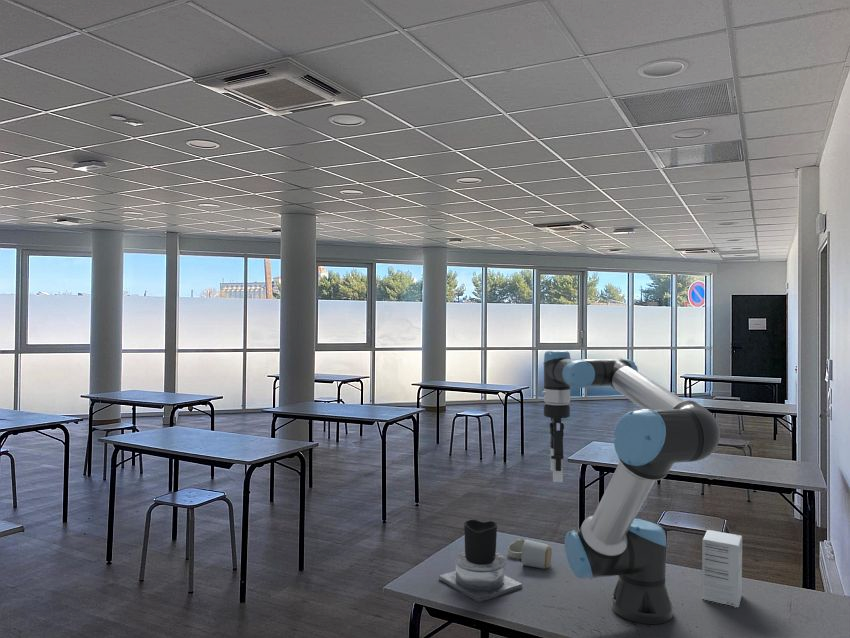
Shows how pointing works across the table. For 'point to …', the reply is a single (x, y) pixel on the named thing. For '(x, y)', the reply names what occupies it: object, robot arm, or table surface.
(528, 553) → the ceramic mug
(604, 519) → the robot arm
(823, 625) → the table surface
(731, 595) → the supplement box
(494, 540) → the pen holder
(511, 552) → the beige oval ring
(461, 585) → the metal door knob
